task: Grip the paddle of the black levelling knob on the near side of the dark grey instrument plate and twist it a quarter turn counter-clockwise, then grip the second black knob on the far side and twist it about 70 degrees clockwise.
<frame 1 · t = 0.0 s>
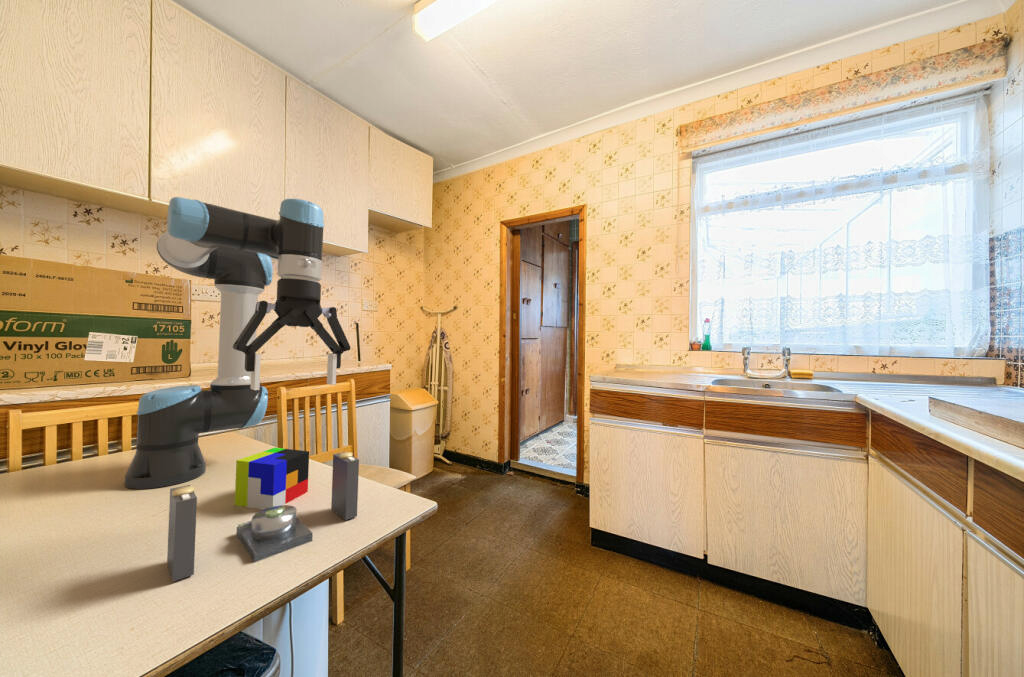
hand: (295, 386, 71), 28 cm above the table, fingers open, 13 cm apart
knob a: (181, 528, 57), point 7 cm above the table, hinge at 0.0°
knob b: (344, 483, 77), point 7 cm above the table, hinge at 0.0°
puzzle toy: (272, 499, 83), on the table
levelling plate: (274, 537, 67), on the table
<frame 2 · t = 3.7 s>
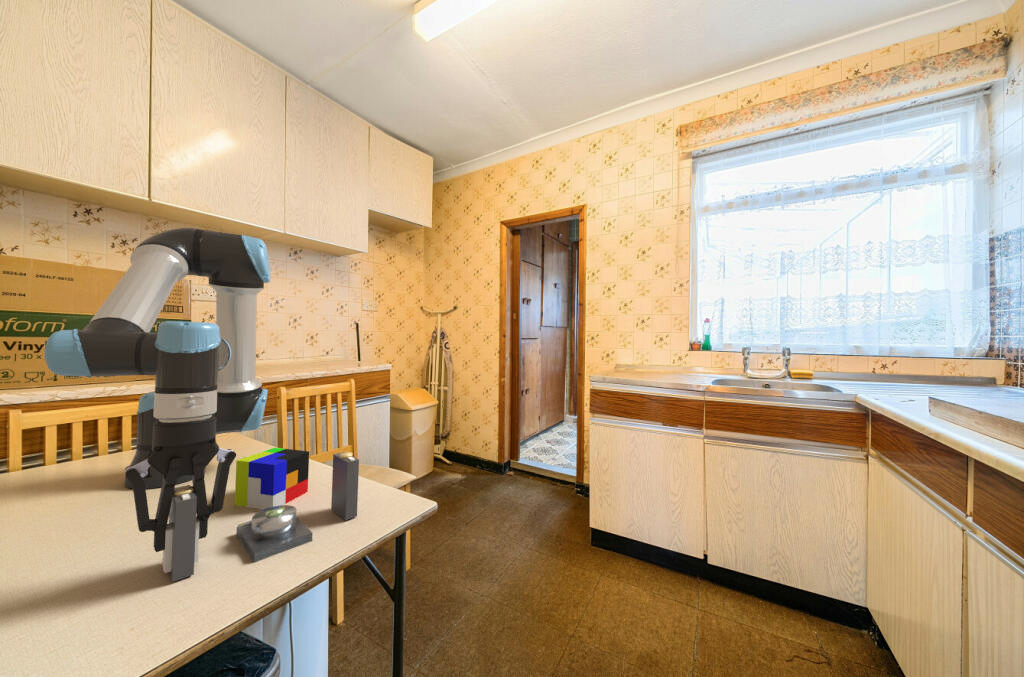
hand: (180, 563, 57), 1 cm above the table, fingers closed on knob a, 2 cm apart
knob a: (181, 528, 57), point 7 cm above the table, hinge at 0.0°, touching gripper
everything else where it was.
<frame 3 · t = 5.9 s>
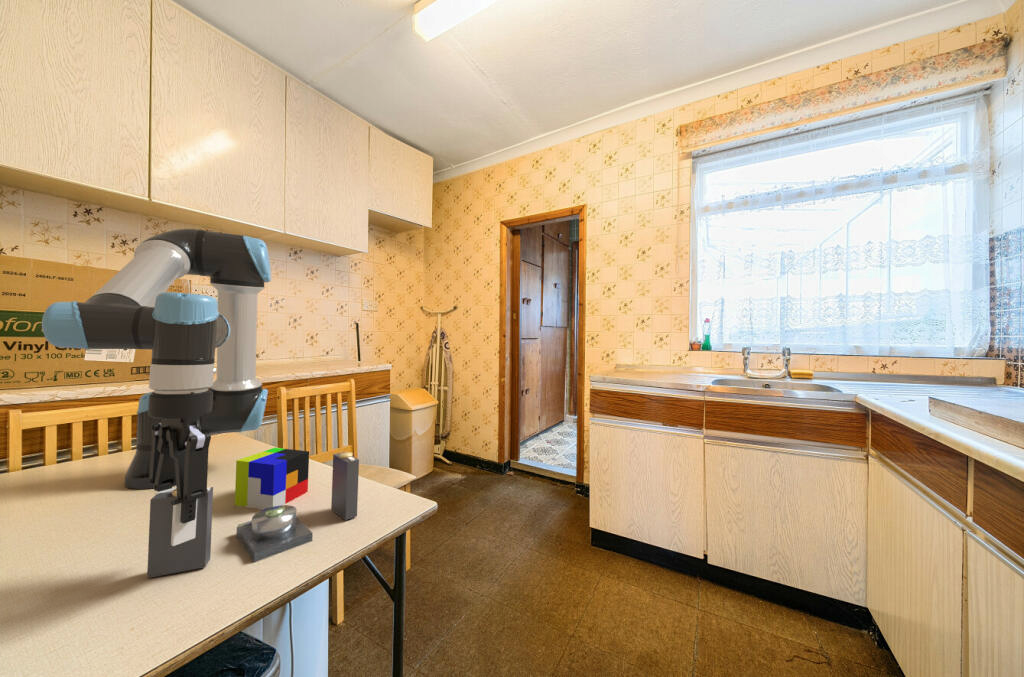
hand: (174, 535, 57), 6 cm above the table, fingers open, 5 cm apart
knob a: (181, 528, 57), point 7 cm above the table, hinge at 65.7°
everything else where it was.
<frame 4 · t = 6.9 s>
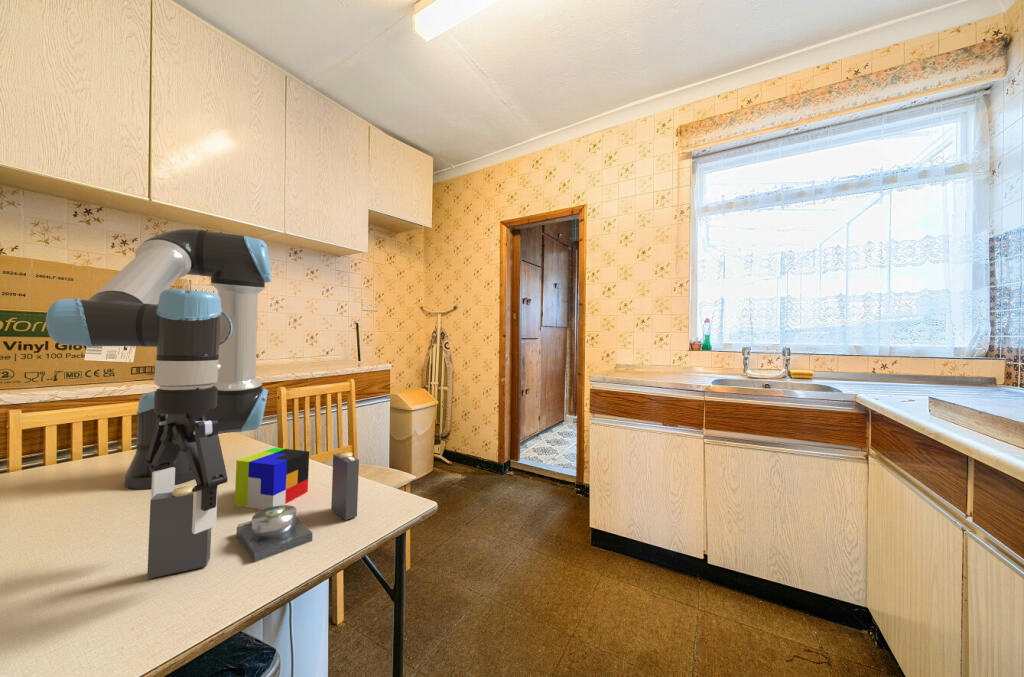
hand: (182, 518, 57), 8 cm above the table, fingers open, 13 cm apart
knob a: (181, 528, 57), point 7 cm above the table, hinge at 69.4°
everything else where it was.
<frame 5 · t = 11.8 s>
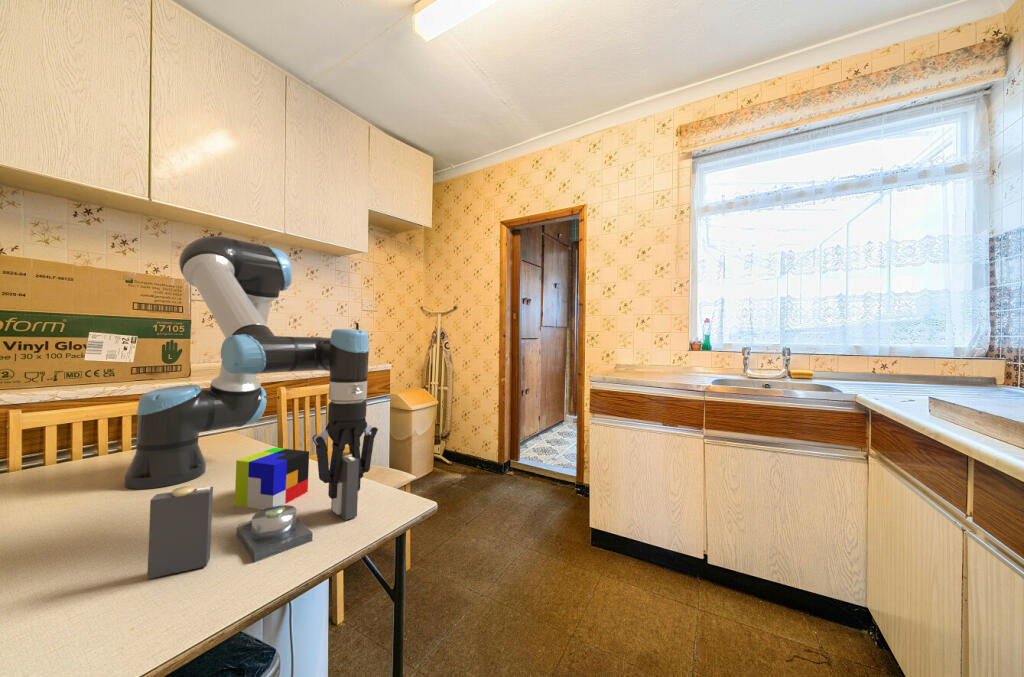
hand: (343, 509, 77), 1 cm above the table, fingers closed on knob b, 2 cm apart
knob a: (181, 528, 57), point 7 cm above the table, hinge at 69.8°
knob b: (344, 483, 77), point 7 cm above the table, hinge at 0.0°, touching gripper
everything else where it was.
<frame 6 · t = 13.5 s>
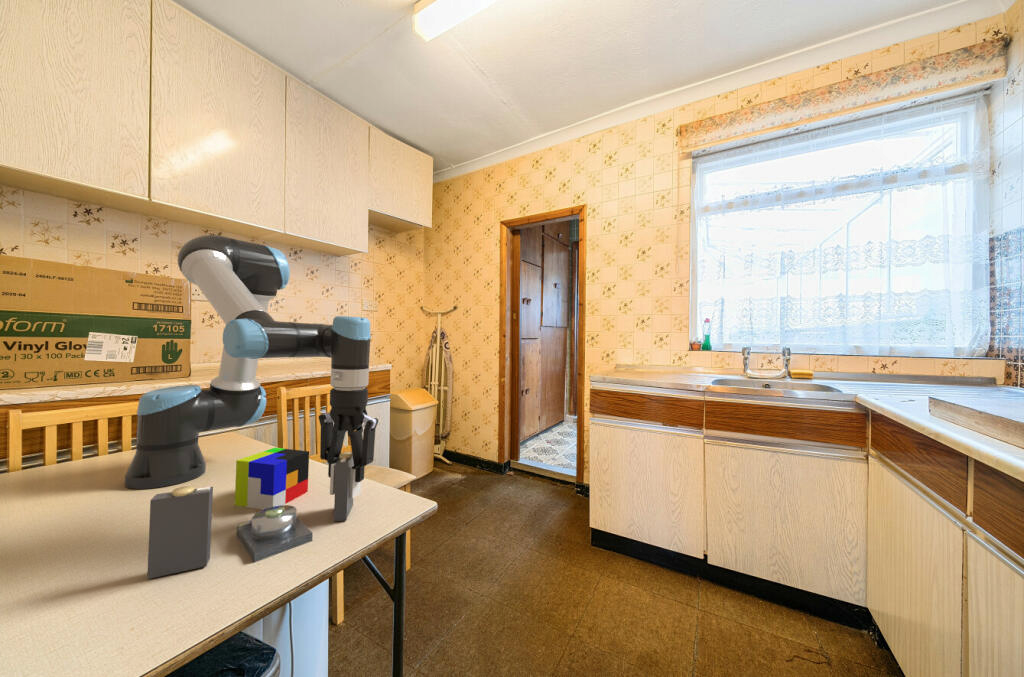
hand: (345, 493, 78), 4 cm above the table, fingers closed on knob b, 4 cm apart
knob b: (344, 483, 77), point 7 cm above the table, hinge at -35.5°, touching gripper
everything else where it was.
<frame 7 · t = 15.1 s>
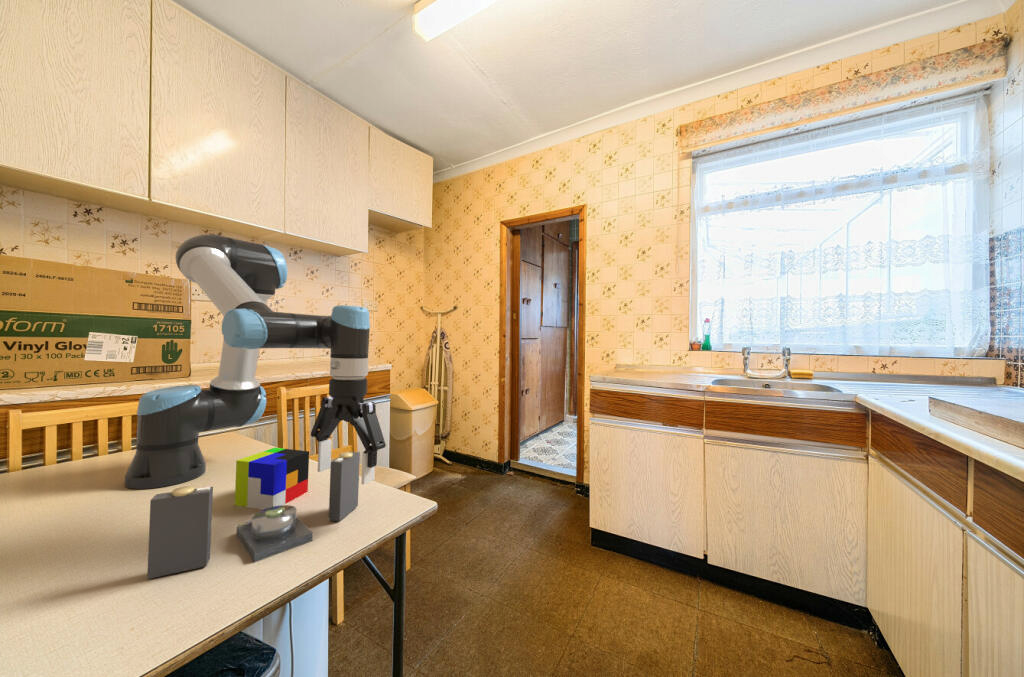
hand: (345, 475, 77), 8 cm above the table, fingers open, 13 cm apart
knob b: (344, 483, 77), point 7 cm above the table, hinge at -55.3°
everything else where it was.
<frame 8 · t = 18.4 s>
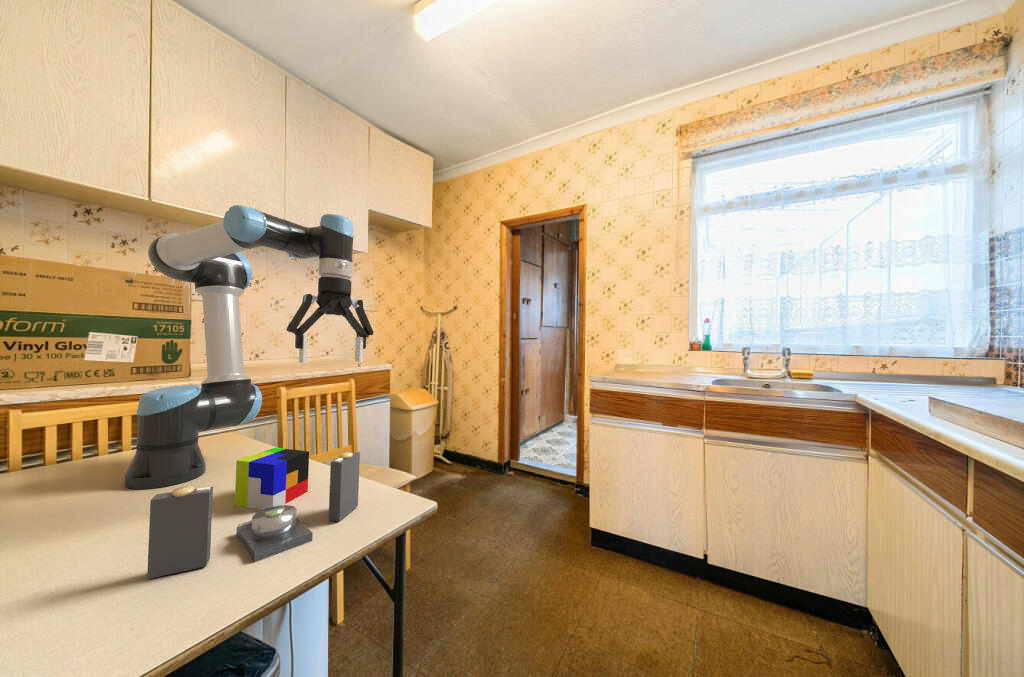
hand: (332, 362, 90), 32 cm above the table, fingers open, 13 cm apart
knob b: (344, 483, 77), point 7 cm above the table, hinge at -55.8°
everything else where it was.
at the end: knob a at +70° (first picture: +0°); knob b at -56° (first picture: +0°) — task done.
